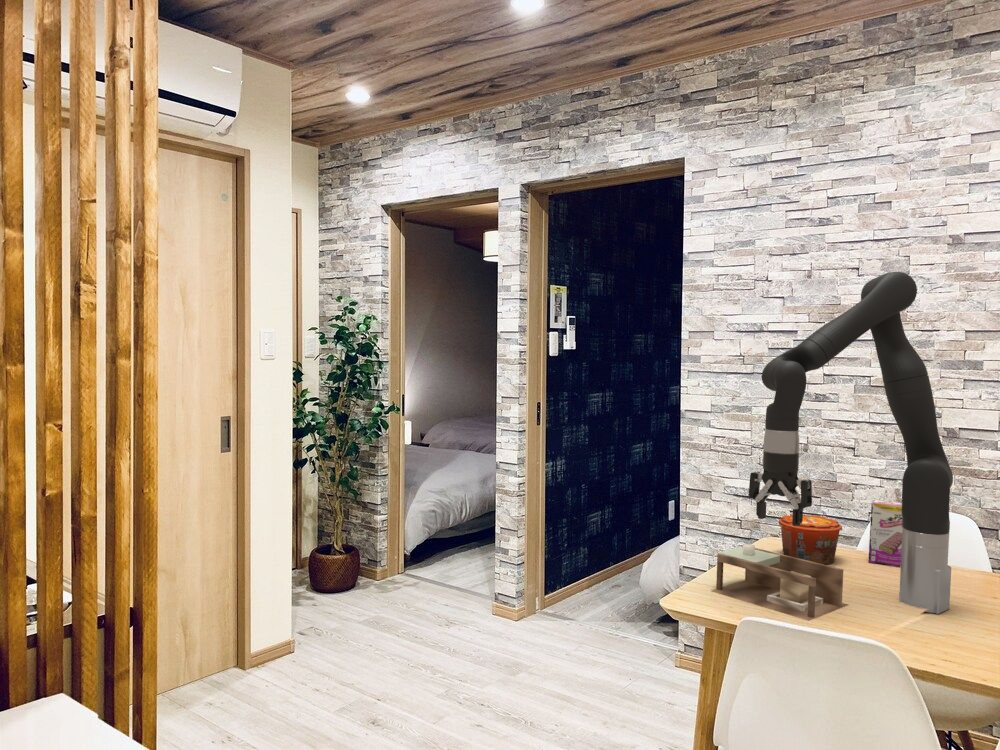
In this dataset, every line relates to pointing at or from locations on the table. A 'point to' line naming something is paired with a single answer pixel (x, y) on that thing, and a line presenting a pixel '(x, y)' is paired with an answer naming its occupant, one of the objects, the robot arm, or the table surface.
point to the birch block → (794, 590)
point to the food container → (810, 538)
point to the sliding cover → (752, 555)
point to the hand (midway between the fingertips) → (778, 521)
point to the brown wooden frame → (766, 585)
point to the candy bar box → (886, 533)
